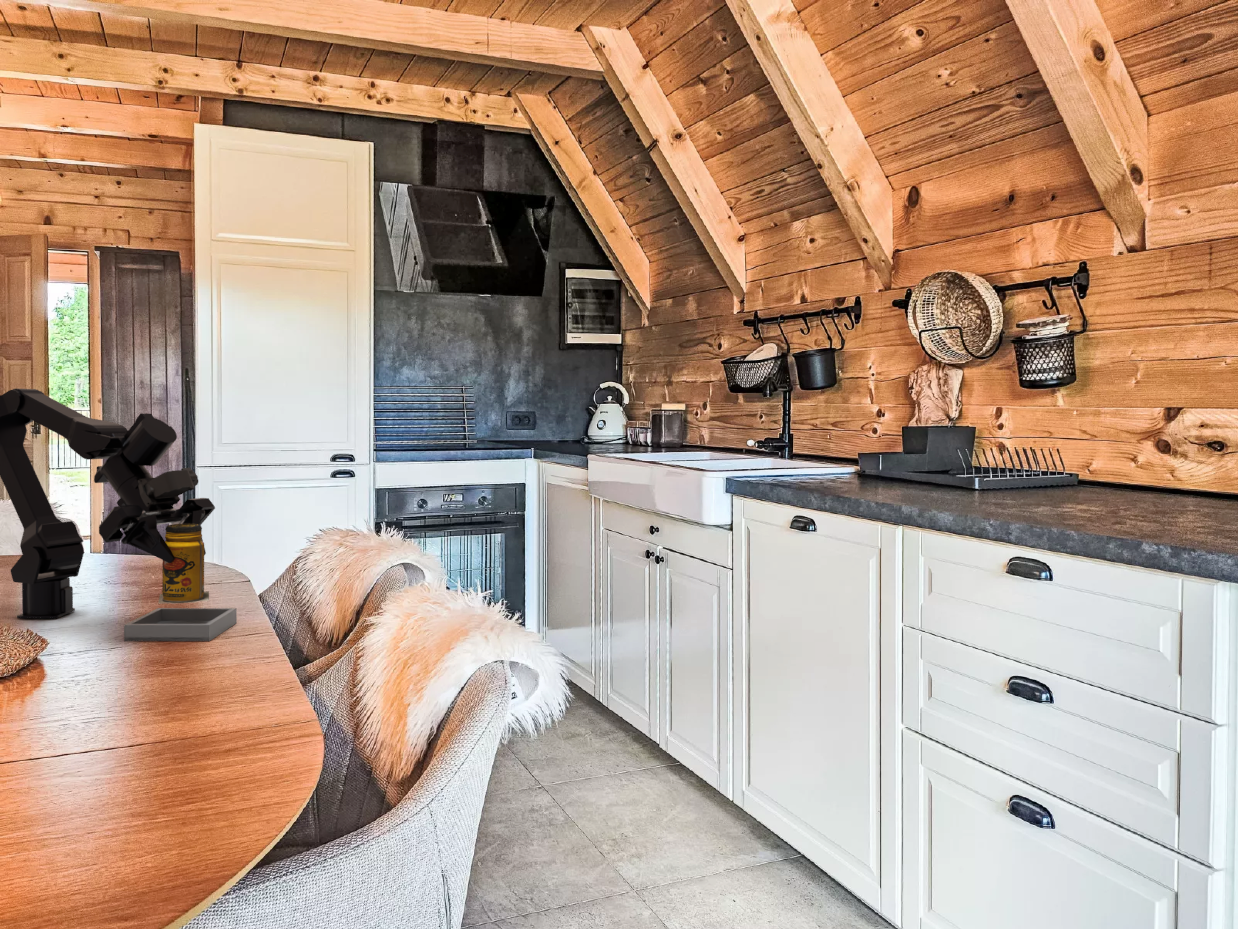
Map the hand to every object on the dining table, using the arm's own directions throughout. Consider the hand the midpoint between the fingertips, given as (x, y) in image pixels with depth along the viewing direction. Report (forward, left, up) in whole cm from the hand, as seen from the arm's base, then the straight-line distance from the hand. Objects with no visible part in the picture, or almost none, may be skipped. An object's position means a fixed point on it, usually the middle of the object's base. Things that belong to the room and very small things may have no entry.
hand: (188, 558), depth 148 cm
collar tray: (-1, +1, -12) cm, 12 cm away
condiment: (-1, +1, -7) cm, 7 cm away
